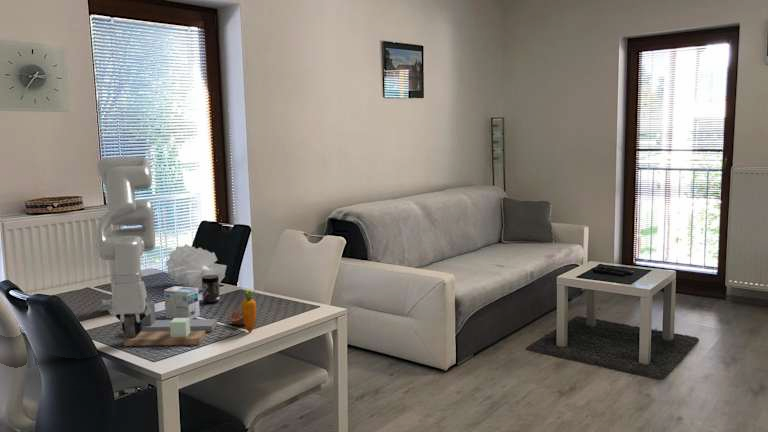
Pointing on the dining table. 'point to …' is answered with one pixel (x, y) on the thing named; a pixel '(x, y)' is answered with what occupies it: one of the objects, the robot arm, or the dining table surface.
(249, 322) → the carrot
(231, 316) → the fruit slice
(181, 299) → the light bulb box
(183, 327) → the sage block
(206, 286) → the supplement container
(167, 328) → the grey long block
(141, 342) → the wooden board with post
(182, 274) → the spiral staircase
